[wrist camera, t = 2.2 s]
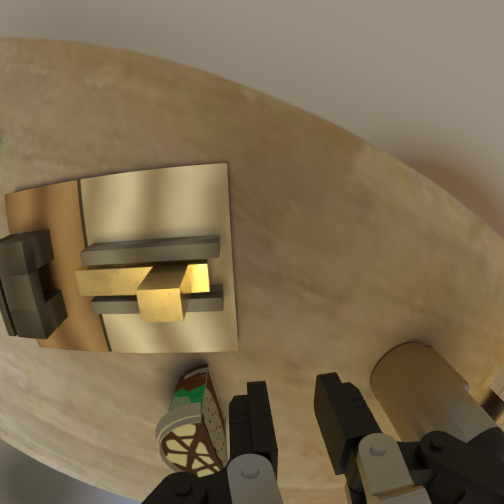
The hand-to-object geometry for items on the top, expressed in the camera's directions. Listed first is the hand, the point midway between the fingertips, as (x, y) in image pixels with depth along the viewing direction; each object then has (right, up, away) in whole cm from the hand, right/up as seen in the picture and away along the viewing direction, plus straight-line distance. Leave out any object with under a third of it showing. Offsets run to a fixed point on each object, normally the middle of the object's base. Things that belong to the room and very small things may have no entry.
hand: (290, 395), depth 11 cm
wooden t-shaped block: (-11, +4, +15) cm, 19 cm away
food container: (-9, -12, +23) cm, 27 cm away
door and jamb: (-15, +4, +17) cm, 24 cm away
